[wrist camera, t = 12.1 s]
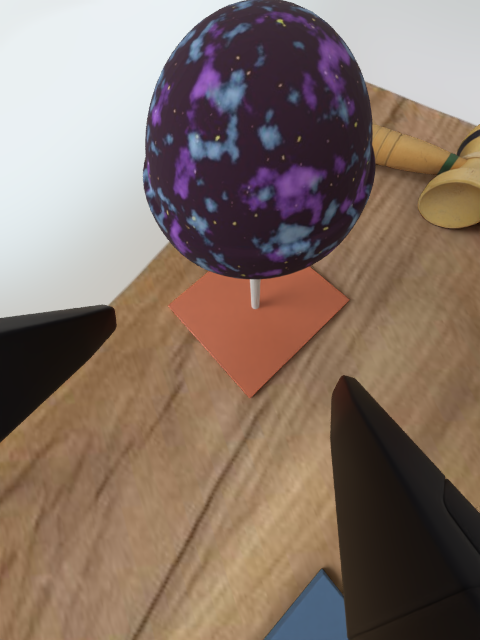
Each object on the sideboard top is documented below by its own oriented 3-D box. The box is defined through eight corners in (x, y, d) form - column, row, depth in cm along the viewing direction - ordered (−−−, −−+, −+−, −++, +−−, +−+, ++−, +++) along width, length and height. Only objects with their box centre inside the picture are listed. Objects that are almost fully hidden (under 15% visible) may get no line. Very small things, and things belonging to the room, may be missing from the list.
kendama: (317, 195, 23) (534, 273, 17) (336, 116, 18) (666, 188, 11) (351, 161, 26) (549, 218, 20) (376, 85, 21) (661, 128, 14)
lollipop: (271, 364, 17) (358, 232, 3) (197, 319, 18) (-9, 75, 4) (312, 291, 18) (514, -48, 4) (241, 255, 20) (205, -91, 6)
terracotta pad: (249, 398, 17) (249, 398, 16) (169, 307, 19) (167, 305, 19) (347, 302, 18) (350, 299, 18) (261, 230, 21) (261, 226, 21)
